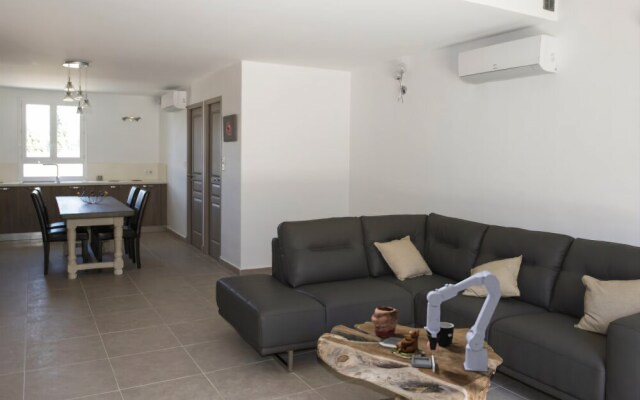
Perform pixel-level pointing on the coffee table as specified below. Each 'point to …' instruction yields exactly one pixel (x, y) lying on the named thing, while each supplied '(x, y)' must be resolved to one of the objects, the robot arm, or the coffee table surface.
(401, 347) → the bear figurine
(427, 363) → the dish
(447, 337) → the mug
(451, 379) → the coffee table surface
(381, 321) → the decorative planter
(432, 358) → the acrylic wall
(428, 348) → the ball
